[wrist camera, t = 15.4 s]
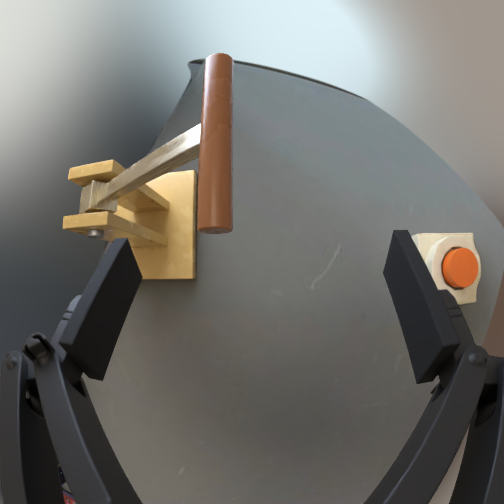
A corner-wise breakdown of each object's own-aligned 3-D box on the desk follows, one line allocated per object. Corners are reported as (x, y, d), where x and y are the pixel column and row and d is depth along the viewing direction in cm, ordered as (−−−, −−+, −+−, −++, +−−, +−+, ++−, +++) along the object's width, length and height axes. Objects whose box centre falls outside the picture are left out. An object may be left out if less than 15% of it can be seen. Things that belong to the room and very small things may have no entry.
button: (468, 249, 27) (477, 247, 25) (470, 286, 26) (479, 285, 24) (440, 250, 27) (448, 248, 25) (442, 288, 27) (450, 288, 25)
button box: (463, 235, 30) (481, 230, 26) (466, 301, 29) (485, 302, 25) (409, 236, 31) (425, 230, 27) (412, 307, 30) (428, 310, 26)
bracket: (197, 173, 34) (151, 112, 20) (195, 279, 33) (140, 274, 19) (121, 182, 35) (54, 137, 21) (116, 279, 34) (37, 274, 20)
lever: (245, 65, 14) (212, 44, 12) (247, 232, 13) (204, 224, 11) (110, 157, 24) (87, 152, 22) (102, 258, 23) (76, 256, 21)
